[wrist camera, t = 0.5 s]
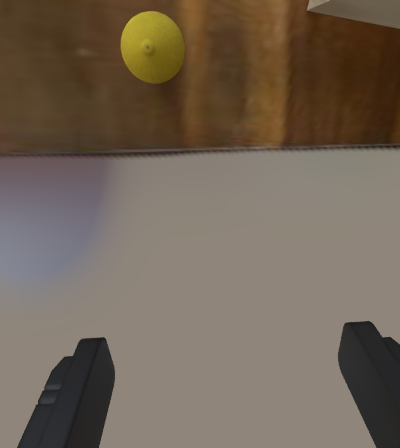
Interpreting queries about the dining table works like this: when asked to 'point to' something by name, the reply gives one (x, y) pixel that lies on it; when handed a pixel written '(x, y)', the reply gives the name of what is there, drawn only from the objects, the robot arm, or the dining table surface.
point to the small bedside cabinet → (360, 10)
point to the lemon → (152, 47)
